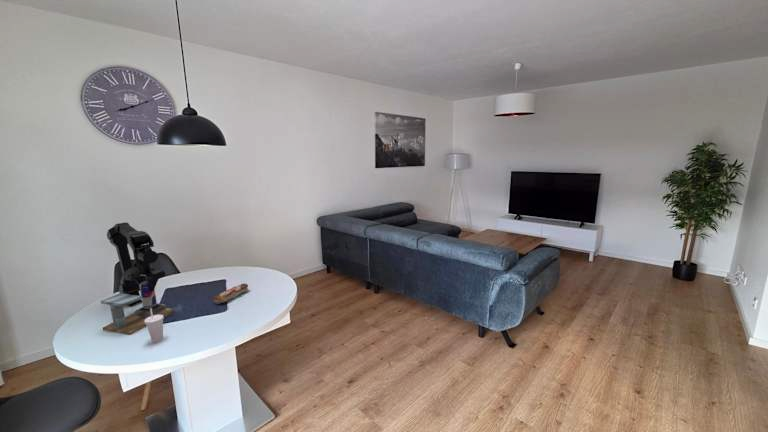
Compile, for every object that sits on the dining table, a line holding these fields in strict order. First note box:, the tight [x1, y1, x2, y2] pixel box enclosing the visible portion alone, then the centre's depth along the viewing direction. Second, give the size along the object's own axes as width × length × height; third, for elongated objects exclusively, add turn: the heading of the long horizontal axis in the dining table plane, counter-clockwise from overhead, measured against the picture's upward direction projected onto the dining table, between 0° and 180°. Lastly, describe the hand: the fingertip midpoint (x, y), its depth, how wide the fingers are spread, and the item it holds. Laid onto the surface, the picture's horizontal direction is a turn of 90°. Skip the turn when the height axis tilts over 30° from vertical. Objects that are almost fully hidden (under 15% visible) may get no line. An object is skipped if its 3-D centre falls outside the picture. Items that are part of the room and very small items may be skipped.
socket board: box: [100, 293, 175, 336], centre depth 145 cm, size 16×21×14 cm
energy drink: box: [139, 281, 158, 308], centre depth 150 cm, size 5×5×12 cm
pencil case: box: [213, 283, 249, 305], centre depth 169 cm, size 11×20×5 cm, turn 145°
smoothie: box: [145, 308, 165, 343], centre depth 129 cm, size 6×6×14 cm
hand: (147, 290), depth 150 cm, fingers closed on energy drink, 5 cm apart
